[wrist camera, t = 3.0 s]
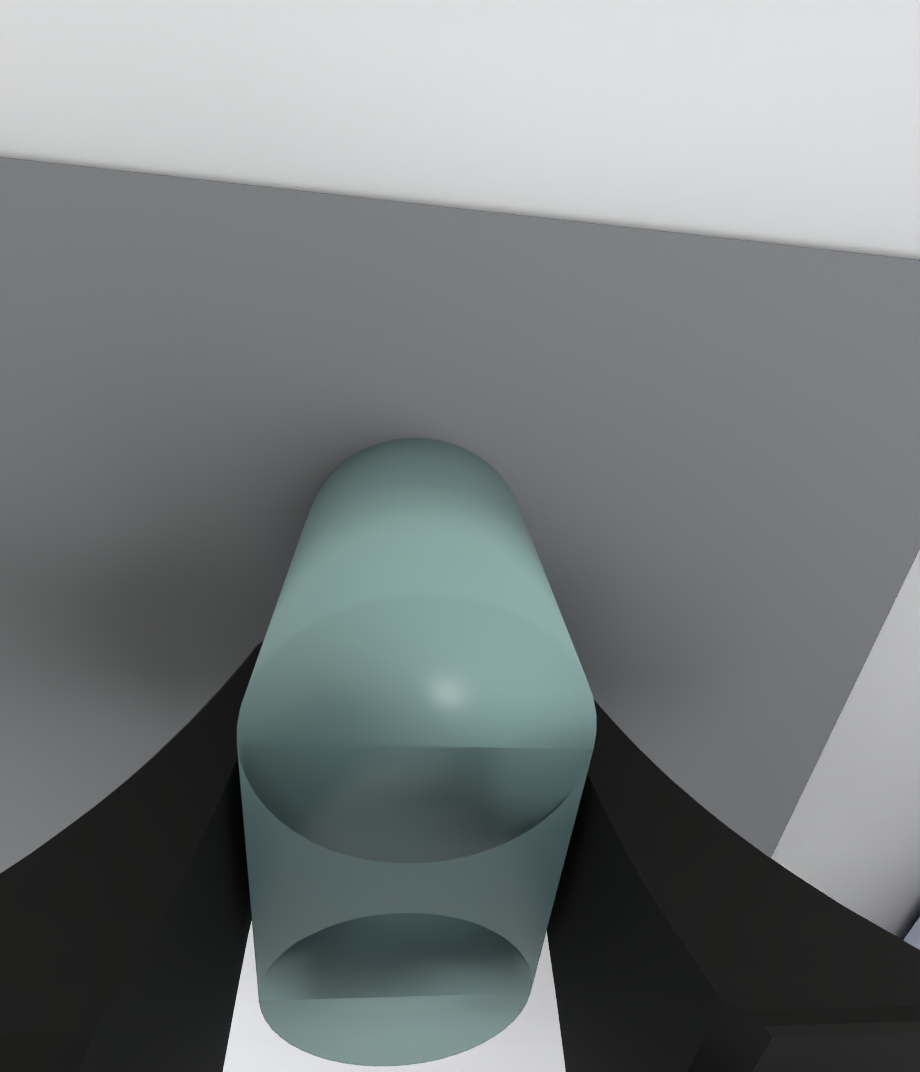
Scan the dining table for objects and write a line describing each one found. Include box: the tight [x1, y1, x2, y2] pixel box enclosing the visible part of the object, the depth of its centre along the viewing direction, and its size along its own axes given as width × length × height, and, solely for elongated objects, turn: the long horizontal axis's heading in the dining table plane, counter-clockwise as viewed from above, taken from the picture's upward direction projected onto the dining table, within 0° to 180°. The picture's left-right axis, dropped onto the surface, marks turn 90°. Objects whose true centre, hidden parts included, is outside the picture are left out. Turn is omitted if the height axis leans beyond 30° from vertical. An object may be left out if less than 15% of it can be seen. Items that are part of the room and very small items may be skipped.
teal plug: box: [237, 438, 596, 1066], centre depth 11 cm, size 11×4×5 cm, turn 175°
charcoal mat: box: [0, 157, 920, 873], centre depth 13 cm, size 20×16×1 cm
